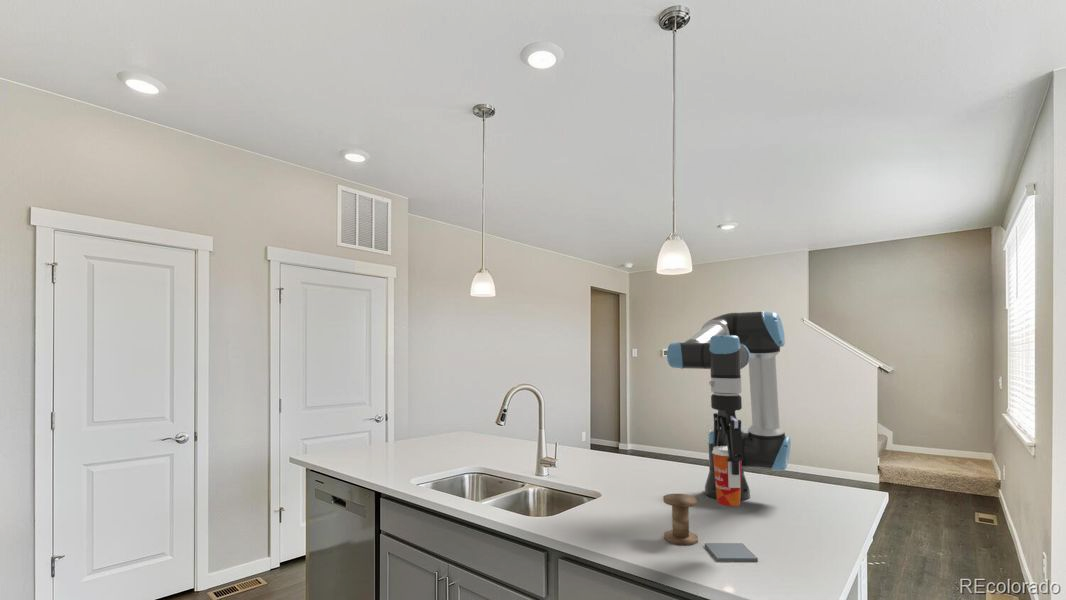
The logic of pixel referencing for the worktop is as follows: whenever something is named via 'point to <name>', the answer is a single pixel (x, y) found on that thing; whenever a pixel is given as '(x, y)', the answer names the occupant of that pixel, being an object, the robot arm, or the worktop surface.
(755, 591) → the worktop surface
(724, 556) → the grey square tile
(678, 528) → the bobbin
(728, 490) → the paper cup
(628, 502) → the worktop surface
